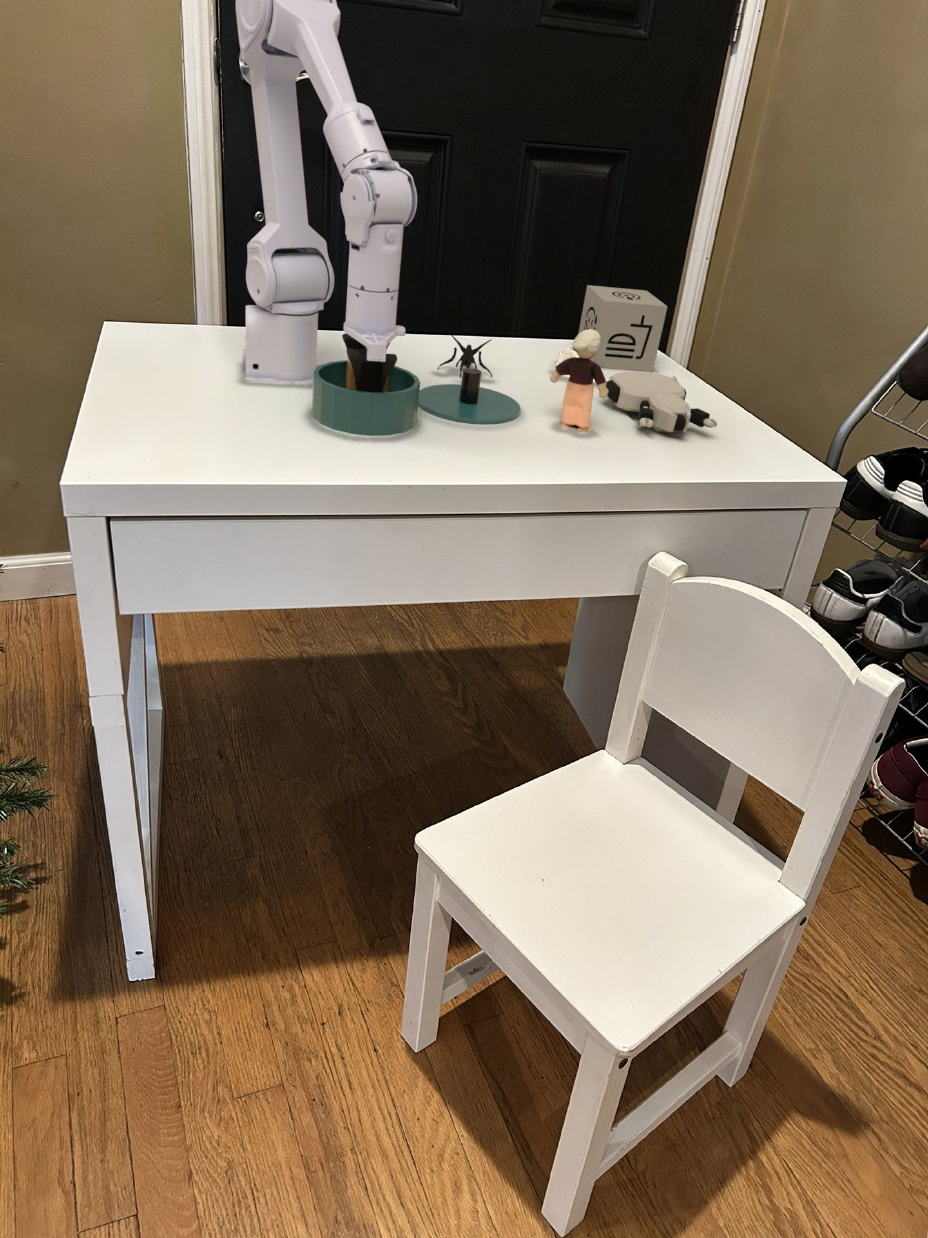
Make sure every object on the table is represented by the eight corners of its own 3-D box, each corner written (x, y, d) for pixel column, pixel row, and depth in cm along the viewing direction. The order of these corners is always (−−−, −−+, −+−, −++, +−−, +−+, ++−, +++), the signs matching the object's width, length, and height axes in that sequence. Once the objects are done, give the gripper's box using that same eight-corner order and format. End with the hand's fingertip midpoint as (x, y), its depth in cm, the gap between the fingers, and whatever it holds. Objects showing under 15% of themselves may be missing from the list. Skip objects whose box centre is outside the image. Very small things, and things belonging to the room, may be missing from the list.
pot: (315, 437, 107) (317, 390, 105) (309, 400, 118) (311, 356, 115) (422, 442, 110) (427, 396, 107) (407, 405, 121) (411, 363, 118)
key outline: (541, 357, 147) (543, 346, 147) (571, 359, 149) (573, 348, 148) (564, 384, 137) (566, 372, 136) (596, 386, 138) (599, 374, 137)
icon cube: (652, 371, 148) (667, 306, 143) (592, 366, 146) (604, 300, 141) (633, 352, 157) (646, 290, 151) (575, 347, 155) (587, 285, 149)
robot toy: (717, 446, 124) (665, 399, 135) (727, 414, 121) (674, 368, 133) (634, 446, 120) (588, 397, 131) (643, 413, 117) (595, 366, 129)
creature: (489, 393, 132) (494, 365, 138) (493, 358, 129) (499, 331, 134) (434, 385, 132) (441, 357, 138) (437, 350, 129) (444, 323, 135)
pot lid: (423, 426, 115) (427, 385, 112) (408, 389, 126) (411, 351, 124) (530, 430, 118) (537, 391, 115) (506, 394, 129) (511, 357, 127)
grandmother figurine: (603, 431, 121) (623, 332, 115) (597, 440, 118) (617, 338, 111) (545, 418, 123) (562, 319, 116) (538, 427, 120) (555, 326, 113)
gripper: (417, 305, 101) (406, 426, 108) (399, 274, 113) (390, 385, 120) (351, 300, 99) (344, 423, 106) (340, 269, 111) (335, 382, 118)
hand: (365, 403), depth 113 cm, fingers closed on maple block, 4 cm apart
